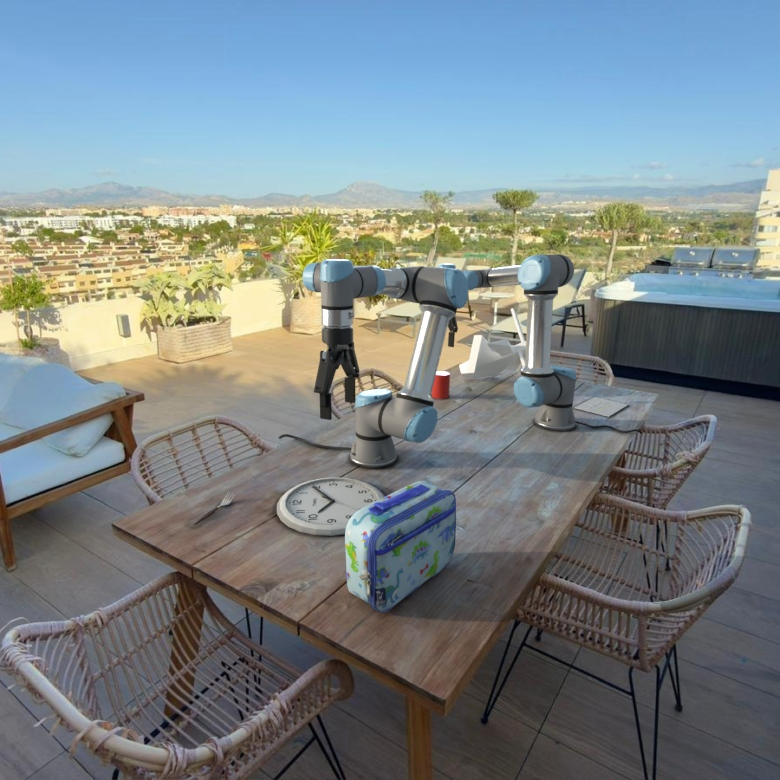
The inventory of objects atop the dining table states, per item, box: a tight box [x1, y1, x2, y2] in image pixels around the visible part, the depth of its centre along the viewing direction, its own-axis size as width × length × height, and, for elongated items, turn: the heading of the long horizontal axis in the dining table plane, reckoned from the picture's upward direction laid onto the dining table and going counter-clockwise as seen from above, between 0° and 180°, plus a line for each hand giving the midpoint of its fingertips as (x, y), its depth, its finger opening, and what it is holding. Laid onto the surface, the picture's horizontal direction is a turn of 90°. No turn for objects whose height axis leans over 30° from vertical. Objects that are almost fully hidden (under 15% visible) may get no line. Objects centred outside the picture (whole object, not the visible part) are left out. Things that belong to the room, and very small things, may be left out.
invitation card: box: [573, 396, 629, 418], centre depth 226 cm, size 21×1×15 cm
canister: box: [431, 370, 451, 400], centre depth 235 cm, size 8×8×11 cm
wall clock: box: [276, 476, 386, 537], centre depth 142 cm, size 30×2×30 cm
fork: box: [193, 490, 237, 526], centre depth 138 cm, size 3×16×2 cm, turn 160°
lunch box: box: [344, 480, 457, 614], centre depth 109 cm, size 26×11×21 cm, turn 135°
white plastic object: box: [458, 307, 526, 380], centre depth 255 cm, size 37×45×31 cm
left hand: (338, 410), depth 131 cm, fingers open, 13 cm apart
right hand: (442, 349), depth 230 cm, fingers open, 13 cm apart
